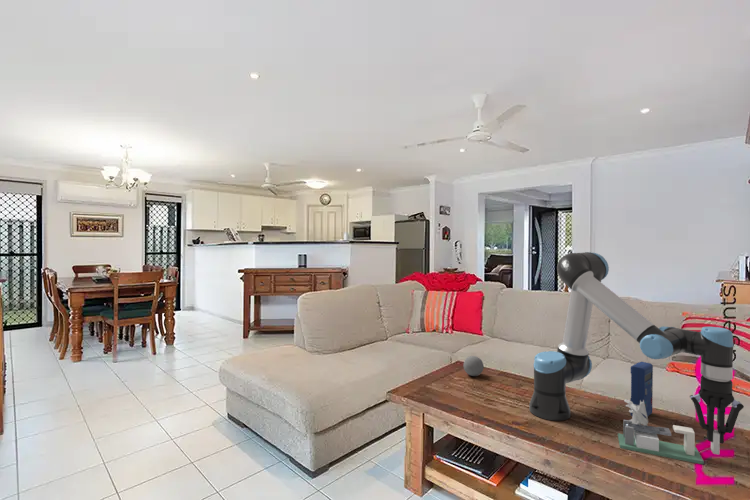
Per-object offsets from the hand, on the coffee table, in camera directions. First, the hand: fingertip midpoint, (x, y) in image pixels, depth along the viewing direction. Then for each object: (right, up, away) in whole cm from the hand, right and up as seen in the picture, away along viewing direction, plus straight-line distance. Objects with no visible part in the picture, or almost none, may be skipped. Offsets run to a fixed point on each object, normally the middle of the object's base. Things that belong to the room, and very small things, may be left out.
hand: (715, 452), depth 124 cm
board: (-13, -3, +7) cm, 15 cm away
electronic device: (-1, -2, +32) cm, 32 cm away
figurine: (-12, -2, +20) cm, 23 cm away
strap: (-16, +3, +8) cm, 18 cm away
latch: (-7, -2, +4) cm, 8 cm away
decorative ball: (-56, -1, +79) cm, 97 cm away
